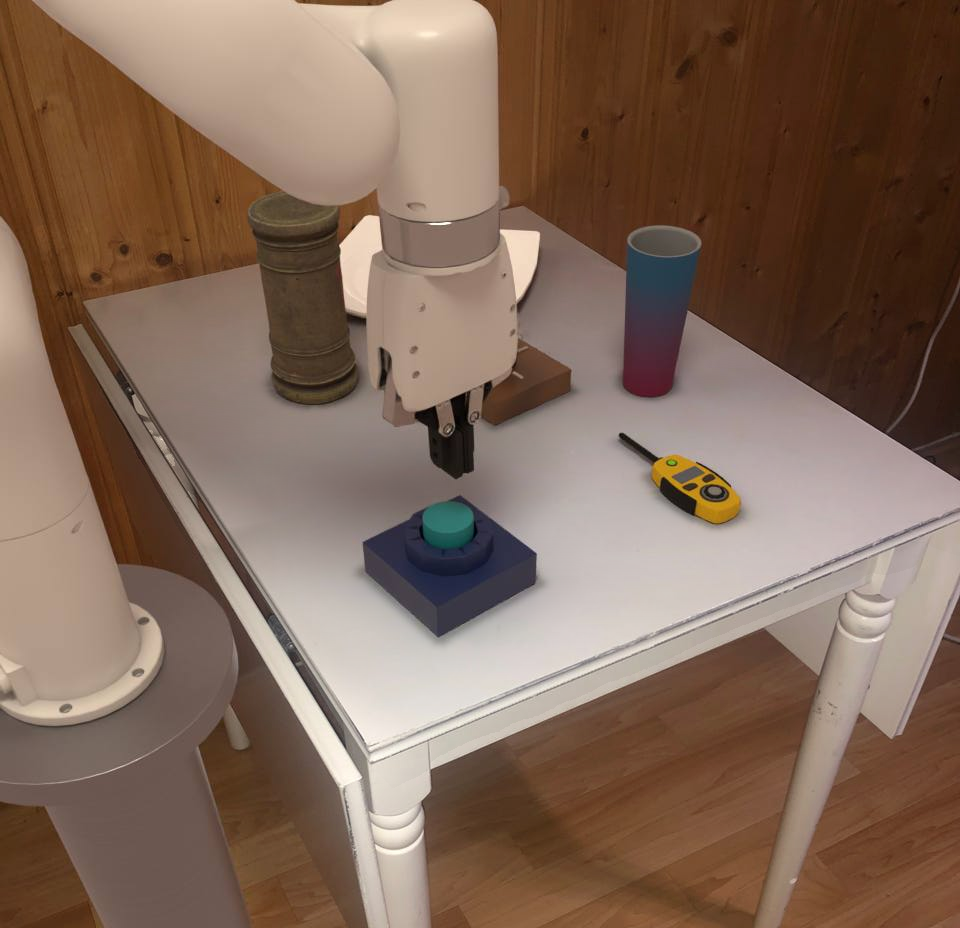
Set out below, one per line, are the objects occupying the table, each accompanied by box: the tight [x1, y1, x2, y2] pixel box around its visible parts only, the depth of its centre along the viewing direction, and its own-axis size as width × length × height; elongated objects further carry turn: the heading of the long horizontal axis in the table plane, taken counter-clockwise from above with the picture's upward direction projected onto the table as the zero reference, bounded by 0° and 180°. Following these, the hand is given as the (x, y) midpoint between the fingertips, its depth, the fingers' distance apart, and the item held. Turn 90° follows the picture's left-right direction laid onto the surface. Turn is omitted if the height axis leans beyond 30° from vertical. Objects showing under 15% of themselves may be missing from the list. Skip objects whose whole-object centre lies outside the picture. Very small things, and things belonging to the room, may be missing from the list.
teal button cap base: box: [362, 494, 538, 638], centre depth 85 cm, size 10×10×5 cm
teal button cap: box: [422, 500, 474, 549], centre depth 83 cm, size 4×4×2 cm
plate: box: [339, 214, 541, 319], centre depth 123 cm, size 24×24×3 cm
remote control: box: [618, 432, 742, 524], centre depth 95 cm, size 5×2×15 cm
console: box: [481, 337, 572, 426], centre depth 107 cm, size 10×12×3 cm
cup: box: [622, 224, 702, 398], centre depth 102 cm, size 7×7×15 cm
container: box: [246, 190, 359, 405], centre depth 102 cm, size 9×9×18 cm
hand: (452, 467), depth 79 cm, fingers closed
